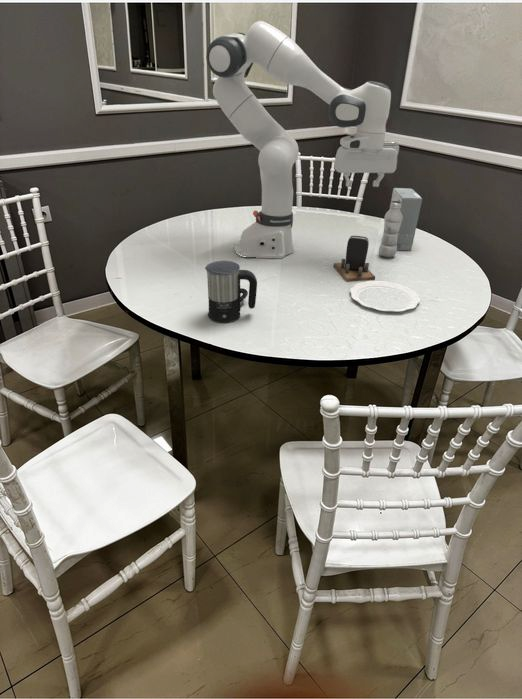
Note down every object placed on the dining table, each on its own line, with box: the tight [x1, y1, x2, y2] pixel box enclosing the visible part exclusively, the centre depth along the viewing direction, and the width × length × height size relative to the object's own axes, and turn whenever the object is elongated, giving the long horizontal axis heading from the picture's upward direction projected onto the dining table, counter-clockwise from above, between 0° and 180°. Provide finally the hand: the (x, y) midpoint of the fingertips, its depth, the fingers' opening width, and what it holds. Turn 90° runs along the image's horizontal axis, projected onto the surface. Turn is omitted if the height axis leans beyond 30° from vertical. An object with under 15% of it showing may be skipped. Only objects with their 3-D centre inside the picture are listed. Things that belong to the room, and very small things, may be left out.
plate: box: [349, 280, 421, 313], centre depth 145 cm, size 21×21×2 cm
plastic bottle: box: [378, 200, 403, 258], centre depth 170 cm, size 6×7×20 cm
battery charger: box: [344, 235, 370, 271], centre depth 158 cm, size 7×4×11 cm, turn 75°
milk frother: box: [204, 260, 258, 324], centre depth 133 cm, size 14×16×15 cm
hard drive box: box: [389, 187, 423, 252], centre depth 182 cm, size 16×8×20 cm, turn 179°
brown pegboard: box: [333, 258, 376, 283], centre depth 160 cm, size 10×13×4 cm
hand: (362, 186), depth 155 cm, fingers open, 8 cm apart
